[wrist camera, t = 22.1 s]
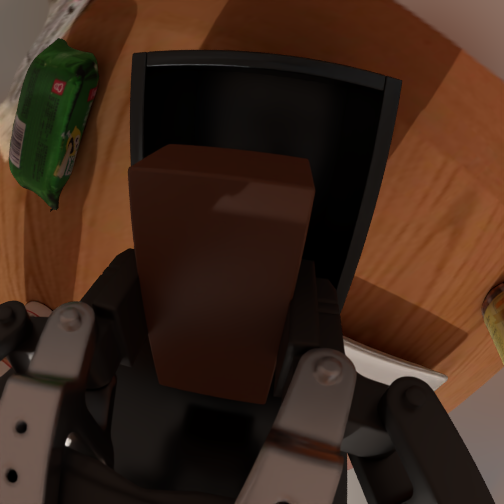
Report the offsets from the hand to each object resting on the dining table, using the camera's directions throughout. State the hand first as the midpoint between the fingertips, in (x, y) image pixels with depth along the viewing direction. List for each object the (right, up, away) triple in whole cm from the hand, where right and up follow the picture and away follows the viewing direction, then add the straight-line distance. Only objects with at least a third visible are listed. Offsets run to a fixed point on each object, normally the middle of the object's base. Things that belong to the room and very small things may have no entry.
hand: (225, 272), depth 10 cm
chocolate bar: (0, 0, 0) cm, 0 cm away
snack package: (-17, +13, +13) cm, 25 cm away
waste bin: (+2, +8, +13) cm, 16 cm away
